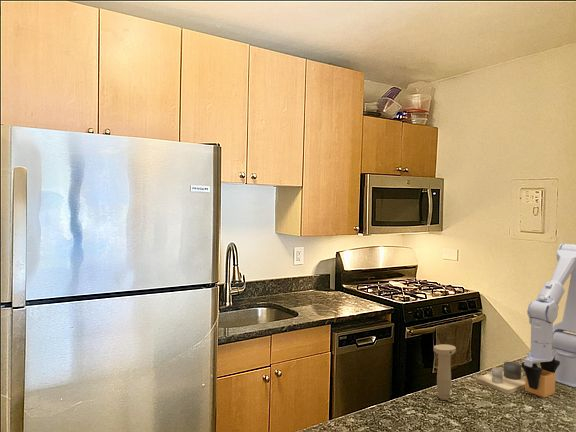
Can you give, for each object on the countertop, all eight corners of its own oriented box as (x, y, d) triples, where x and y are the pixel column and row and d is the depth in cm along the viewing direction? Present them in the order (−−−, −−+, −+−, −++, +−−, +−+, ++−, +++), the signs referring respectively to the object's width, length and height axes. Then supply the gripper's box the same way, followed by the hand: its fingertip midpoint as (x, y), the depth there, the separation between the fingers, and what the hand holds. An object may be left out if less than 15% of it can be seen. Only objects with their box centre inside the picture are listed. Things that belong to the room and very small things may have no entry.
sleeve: (535, 386, 139) (536, 367, 139) (555, 393, 135) (555, 373, 134) (525, 390, 136) (525, 371, 136) (544, 397, 131) (545, 377, 131)
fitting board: (501, 373, 150) (502, 357, 150) (534, 384, 141) (534, 368, 141) (475, 381, 143) (475, 365, 143) (508, 394, 134) (508, 376, 133)
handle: (458, 399, 129) (459, 348, 129) (440, 403, 127) (441, 351, 126) (446, 393, 134) (447, 343, 133) (429, 396, 131) (430, 345, 131)
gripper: (541, 334, 142) (540, 376, 143) (514, 341, 135) (513, 385, 135) (564, 340, 136) (563, 384, 137) (538, 347, 129) (536, 394, 129)
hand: (540, 385), depth 135 cm, fingers open, 7 cm apart
